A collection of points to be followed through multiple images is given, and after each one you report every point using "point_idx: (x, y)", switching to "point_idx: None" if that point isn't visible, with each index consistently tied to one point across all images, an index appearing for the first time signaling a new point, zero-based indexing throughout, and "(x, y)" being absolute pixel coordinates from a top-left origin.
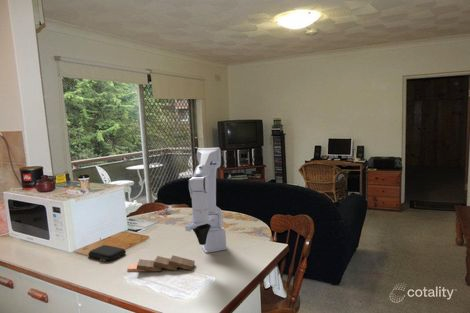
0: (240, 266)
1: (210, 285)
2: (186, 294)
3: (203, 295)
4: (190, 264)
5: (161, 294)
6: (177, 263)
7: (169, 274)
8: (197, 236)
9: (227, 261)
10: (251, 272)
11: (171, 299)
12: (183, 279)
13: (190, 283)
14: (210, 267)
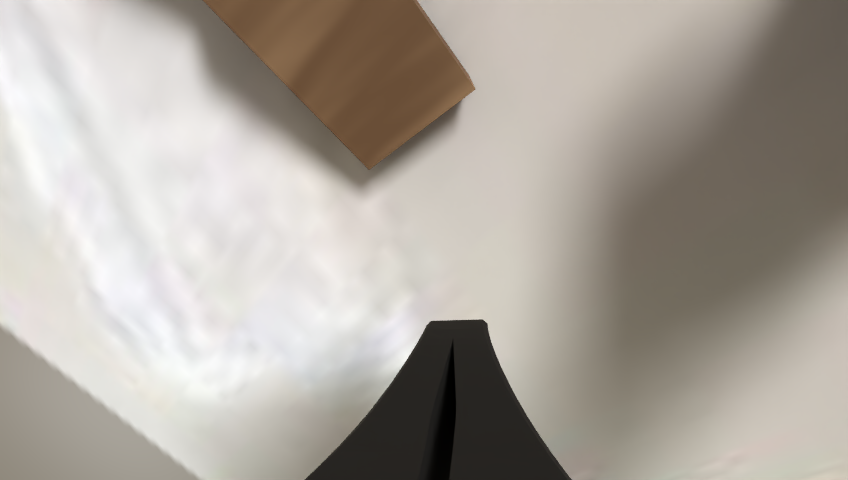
0: (646, 396)
1: (330, 389)
2: (176, 349)
3: (242, 416)
4: (377, 132)
5: (51, 239)
6: (253, 46)
7: (195, 36)
8: (383, 420)
9: (686, 278)
10: (599, 477)
11: (88, 322)
12: (246, 208)
13: (255, 286)
14: (514, 237)
